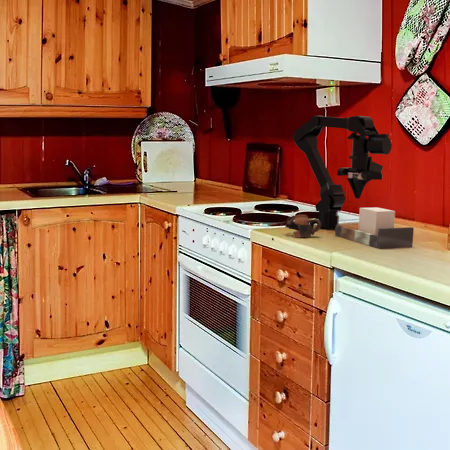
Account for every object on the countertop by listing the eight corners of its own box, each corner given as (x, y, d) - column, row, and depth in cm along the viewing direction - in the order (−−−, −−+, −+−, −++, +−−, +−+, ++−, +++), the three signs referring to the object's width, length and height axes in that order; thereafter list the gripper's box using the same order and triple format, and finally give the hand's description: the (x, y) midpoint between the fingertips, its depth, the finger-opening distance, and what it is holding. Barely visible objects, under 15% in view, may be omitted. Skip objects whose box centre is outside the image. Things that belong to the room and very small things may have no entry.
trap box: (335, 235, 211) (336, 217, 210) (365, 234, 216) (366, 216, 215) (379, 248, 189) (380, 229, 189) (412, 246, 194) (413, 227, 193)
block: (358, 232, 204) (359, 207, 203) (375, 231, 206) (377, 207, 205) (375, 236, 196) (376, 211, 194) (393, 236, 198) (395, 211, 197)
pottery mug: (285, 239, 204) (281, 216, 207) (290, 247, 213) (287, 225, 215) (321, 232, 201) (317, 208, 204) (325, 240, 210) (321, 218, 213)
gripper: (397, 154, 209) (393, 201, 211) (363, 152, 226) (361, 195, 228) (369, 154, 204) (366, 201, 207) (337, 151, 221) (335, 195, 224)
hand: (357, 198), depth 217 cm, fingers closed
